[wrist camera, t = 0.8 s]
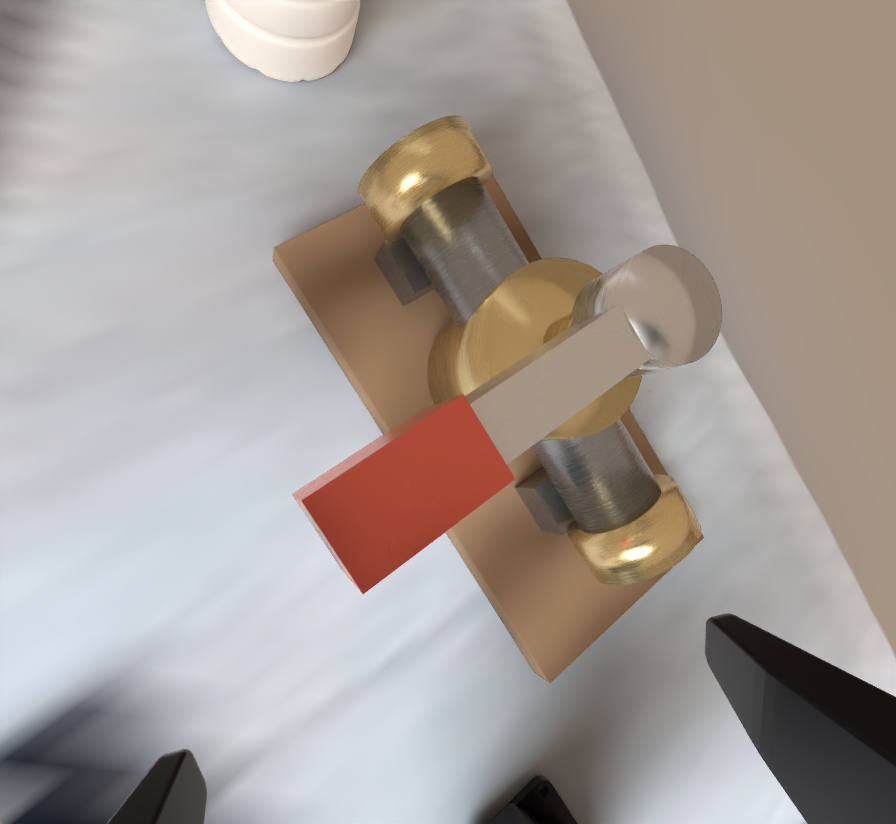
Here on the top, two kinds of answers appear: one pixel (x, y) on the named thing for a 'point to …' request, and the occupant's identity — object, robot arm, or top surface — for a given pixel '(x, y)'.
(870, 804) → the robot arm
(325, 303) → the valve board
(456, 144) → the valve body
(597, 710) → the top surface
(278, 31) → the water bottle
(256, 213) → the top surface
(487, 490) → the valve lever
